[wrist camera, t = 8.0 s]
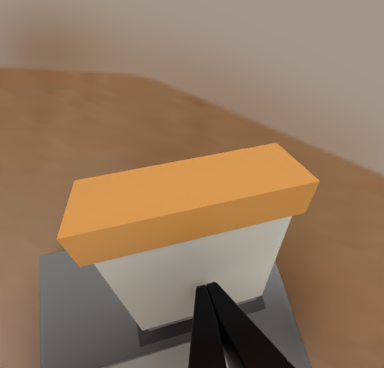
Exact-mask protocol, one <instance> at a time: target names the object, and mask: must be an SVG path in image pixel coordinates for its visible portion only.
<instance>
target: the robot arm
mask: <svg viewBox="0 0 384 368" xmlns="http://www.w3.org/2000/svg"><path fill="white" fill-rule="evenodd" d="M225 359H226V361H227V364H228V366H229V368H295V367H294V366H293V365H292V363H291V362H290V361H288V360H287V358H286V357H285V356H284V355H283V354H282V353H281V352H280V351H279V349H278V348H277V347H276V346H275V345H274V344H273V343H272V342H271V341H270V340H269V339H268V338H267V336H266V335H265V334H264V333H263V332H262V331H261V330H260V329H259V328H258V327H257V326H256V325H255V323H254V322H253V321H252V320H251V319H250V318H249V317H248V316H247V315H246V314H245V313H244V311H243V310H242V309H241V308H240V307H239V306H238V305H237V304H236V303H235V302H234V301H233V300H232V298H231V297H230V296H229V295H228V294H227V293H226V292H225V291H224V290H223V289H222V288H221V286H220V285H219V284H218V283H217V282H211V283H208V284H206V285H205V284H204V285H200V286H197V287H196V292H195V302H194V312H193V322H192V333H191V343H190V353H189V363H188V368H227V367H226V361H225Z"/></svg>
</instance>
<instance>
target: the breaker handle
mask: <svg viewBox="0 0 384 368" xmlns="http://www.w3.org/2000/svg"><path fill="white" fill-rule="evenodd" d="M318 184H319V180H318V179H317V178H316V177H314V176H313V175H312V174H311V173H310V172H309V171H308V170H307V169H305V168H304V167H303V166H302V165H301V164H300V163H299V162H298V161H296V160H295V159H294V158H293V157H292V156H291V155H290V154H288V153H287V152H286V151H285V150H284V149H283V148H282V147H281V146H279V145H278V144H277V143H273V144H267V145H262V146H257V147H251V148H246V149H241V150H235V151H230V152H225V153H219V154H214V155H209V156H203V157H198V158H192V159H187V160H182V161H176V162H171V163H166V164H160V165H155V166H150V167H144V168H139V169H134V170H128V171H123V172H118V173H112V174H107V175H101V176H96V177H91V178H85V179H80V180H75V181H74V184H73V187H72V191H71V194H70V197H69V200H68V204H67V207H66V210H65V213H64V217H63V220H62V223H61V226H60V229H59V233H58V236H57V241H58V242H59V243H60V244H61V245H62V247H63V248H64V249H65V250H66V251H67V253H68V254H69V255H70V256H71V257H72V259H73V260H74V261H75V262H76V263H77V265H78V266H79V267H82V266H87V265H91V264H94V265H95V266H96V268H97V269H98V271H99V272H100V273H101V275H102V276H103V277H104V279H105V280H106V281H107V283H108V284H109V286H110V287H111V288H112V290H113V291H114V292H115V294H116V295H117V297H118V298H119V299H120V301H121V302H122V303H123V305H124V306H125V307H126V309H127V310H128V312H129V313H130V314H131V316H132V317H133V318H134V320H135V321H136V322H137V324H138V325H139V327H140V328H141V329H142V331H143V330H146V329H148V331H151V330H155V329H158V328H161V327H165V326H168V325H171V324H175V323H178V322H182V321H185V320H188V319H192V318H193V312H194V302H195V292H196V287H197V286H200V285H204V284H205V285H206V284H208V283H211V282H217V283H218V284H219V285H220V286H221V288H222V289H223V290H224V291H225V292H226V293H227V294H228V295H229V296H230V297H231V298H232V300H233V301H234V302H235V303H236V304H237V305H239V304H243V303H246V302H249V301H253V300H256V297H259V296H262V293H263V291H264V288H265V285H266V283H267V280H268V278H269V275H270V272H271V270H272V267H273V264H274V262H275V259H276V257H277V254H278V251H279V249H280V246H281V243H282V241H283V238H284V236H285V233H286V230H287V228H288V225H289V222H290V220H291V217H292V216H293V215H297V214H302V213H306V211H307V209H308V206H309V204H310V202H311V199H312V197H313V195H314V193H315V190H316V188H317V186H318Z"/></svg>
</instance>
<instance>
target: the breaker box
mask: <svg viewBox="0 0 384 368" xmlns="http://www.w3.org/2000/svg"><path fill="white" fill-rule="evenodd" d="M39 270H40V361H41V368H188V363H189V353H190V343H191V333H192V322H193V318H192V319H188V320H185V321H182V322H178V323H175V324H171V325H168V326H165V327H161V328H158V329H155V330H151V331H148V329H146V330H143V331H142V329H141V328H140V327H139V325H138V324H137V322H136V321H135V320H134V318H133V317H132V316H131V314H130V313H129V312H128V310H127V309H126V307H125V306H124V305H123V303H122V302H121V301H120V299H119V298H118V297H117V295H116V294H115V292H114V291H113V290H112V288H111V287H110V286H109V284H108V283H107V281H106V280H105V279H104V277H103V276H102V275H101V273H100V272H99V271H98V269H97V268H96V266H95V265H94V264H91V265H87V266H82V267H79V266H78V265H77V263H76V262H75V261H74V260H73V259H72V257H71V256H70V255H69V254H68V253H67V251H66V250H64V251H60V252H56V253H51V254H47V255H43V256H39ZM238 306H239V307H240V308H241V309H242V310H243V311H244V313H245V314H246V315H247V316H248V317H249V318H250V319H251V320H252V321H253V322H254V323H255V325H256V326H257V327H258V328H259V329H260V330H261V331H262V332H263V333H264V334H265V335H266V336H267V338H268V339H269V340H270V341H271V342H272V343H273V344H274V345H275V346H276V347H277V348H278V349H279V351H280V352H281V353H282V354H283V355H284V356H285V357H286V358H287V360H288V361H290V362H291V363H292V365H293V366H294V367H295V368H312V367H311V364H310V361H309V359H308V356H307V353H306V350H305V347H304V344H303V341H302V338H301V335H300V332H299V329H298V326H297V323H296V320H295V317H294V314H293V311H292V308H291V305H290V302H289V300H288V297H287V294H286V291H285V288H284V285H283V282H282V279H281V276H280V273H279V270H278V267H277V264H276V261H275V262H274V264H273V267H272V270H271V272H270V275H269V278H268V280H267V283H266V285H265V288H264V291H263V293H262V296H259V297H256V300H253V301H249V302H246V303H243V304H239V305H238ZM225 361H226V359H225ZM226 367H227V368H229V366H228V364H227V361H226Z"/></svg>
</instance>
